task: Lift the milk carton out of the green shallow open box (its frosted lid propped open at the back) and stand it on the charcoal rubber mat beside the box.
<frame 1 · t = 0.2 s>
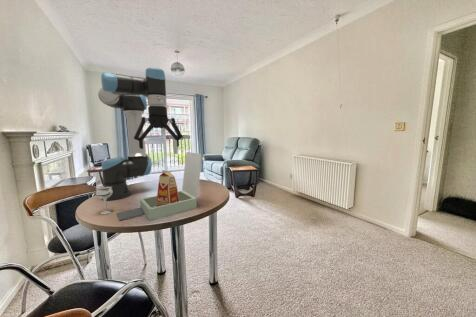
hand: (160, 155, 88), 28 cm above the table, fingers open, 13 cm apart
wineglass: (106, 212, 96), on the table
green shallow open box: (168, 208, 99), on the table
mat: (130, 214, 92), on the table
frame lid: (192, 173, 106), point 16 cm above the table, hinge at 100.0°
milk carton: (168, 208, 99), resting in green shallow open box
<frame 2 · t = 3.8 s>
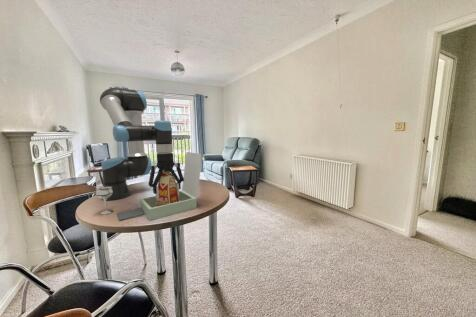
hand: (167, 197, 99), 6 cm above the table, fingers closed on milk carton, 9 cm apart
milk carton: (168, 208, 99), resting in green shallow open box, touching gripper
everything else where it was.
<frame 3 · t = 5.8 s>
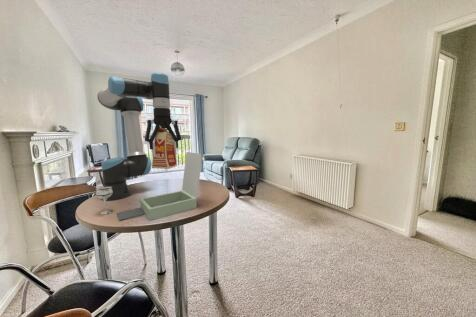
hand: (164, 155, 96), 27 cm above the table, fingers closed on milk carton, 9 cm apart
milk carton: (165, 167, 97), point 21 cm above the table, touching gripper
everything else where it was.
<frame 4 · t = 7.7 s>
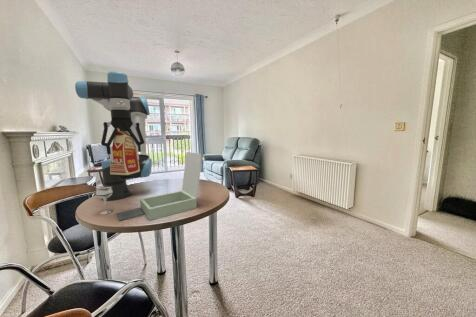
hand: (125, 160, 89), 26 cm above the table, fingers closed on milk carton, 9 cm apart
milk carton: (126, 173, 90), point 20 cm above the table, touching gripper
everything else where it was.
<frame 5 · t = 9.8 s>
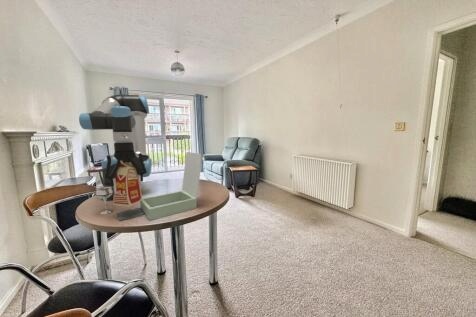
hand: (128, 190, 91), 12 cm above the table, fingers closed on milk carton, 9 cm apart
milk carton: (128, 203, 91), point 6 cm above the table, touching gripper
everything else where it was.
when the fingers open (7 cm above the table, at t = 11.8 s): milk carton stays where it is, resting on mat.
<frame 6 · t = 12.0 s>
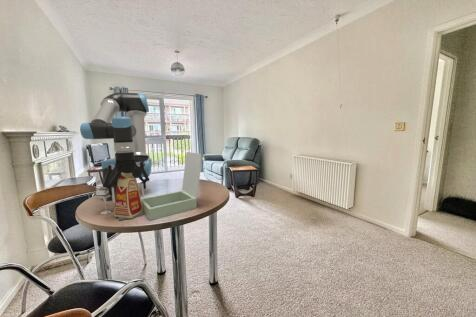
hand: (128, 198, 91), 8 cm above the table, fingers open, 11 cm apart
milk carton: (129, 213, 92), resting on mat
everything else where it was.
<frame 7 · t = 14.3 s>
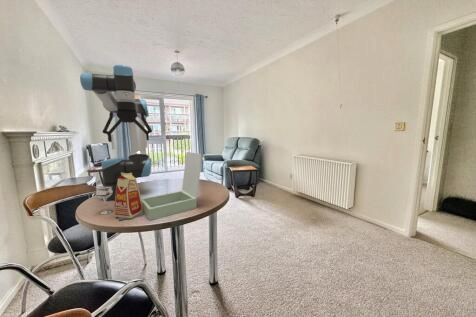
hand: (130, 148, 93), 31 cm above the table, fingers open, 13 cm apart
nothing on the table moved.
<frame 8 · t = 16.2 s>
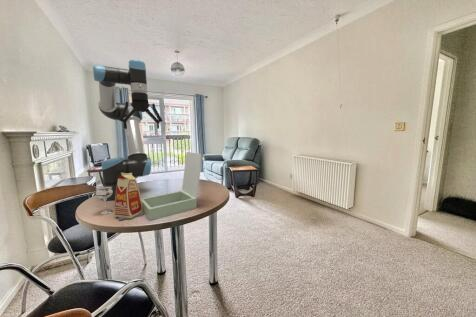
hand: (142, 135, 103), 37 cm above the table, fingers open, 13 cm apart
nothing on the table moved.
at the end: milk carton inside the target area on the mat (0.3 cm from its centre), point 0.4 cm above the mat's base; milk carton tilted 0°; the gripper is holding nothing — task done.
